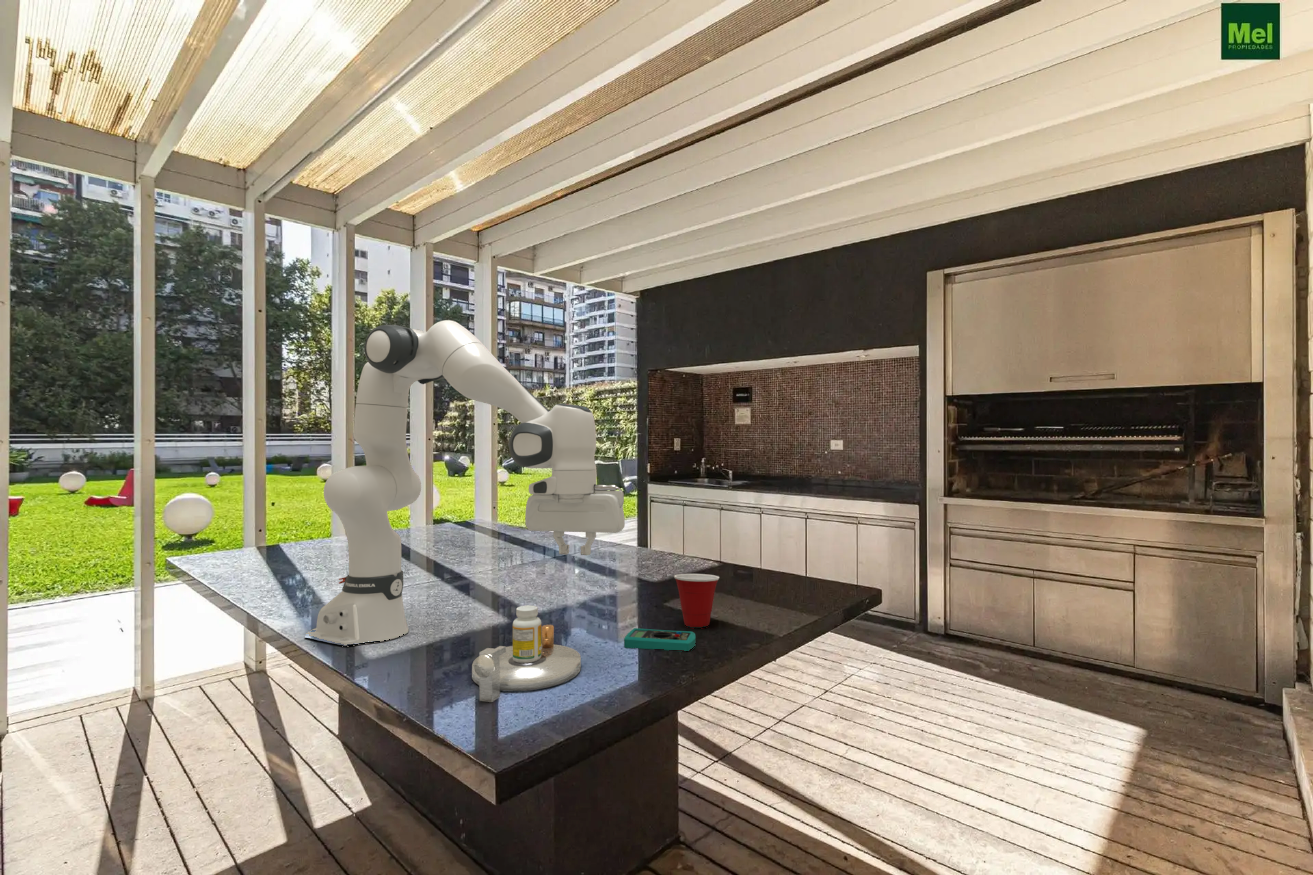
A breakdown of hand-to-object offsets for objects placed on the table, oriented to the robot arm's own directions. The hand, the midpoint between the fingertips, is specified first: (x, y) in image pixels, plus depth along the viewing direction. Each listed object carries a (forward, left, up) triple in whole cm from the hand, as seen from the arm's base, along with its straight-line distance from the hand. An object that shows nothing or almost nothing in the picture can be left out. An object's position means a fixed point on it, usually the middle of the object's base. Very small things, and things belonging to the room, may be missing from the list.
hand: (574, 554), depth 121 cm
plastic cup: (+17, +31, -21) cm, 42 cm away
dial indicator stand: (-6, -19, -21) cm, 29 cm away
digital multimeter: (+13, +15, -22) cm, 29 cm away
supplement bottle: (-7, -7, -19) cm, 21 cm away
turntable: (-7, -8, -21) cm, 23 cm away
